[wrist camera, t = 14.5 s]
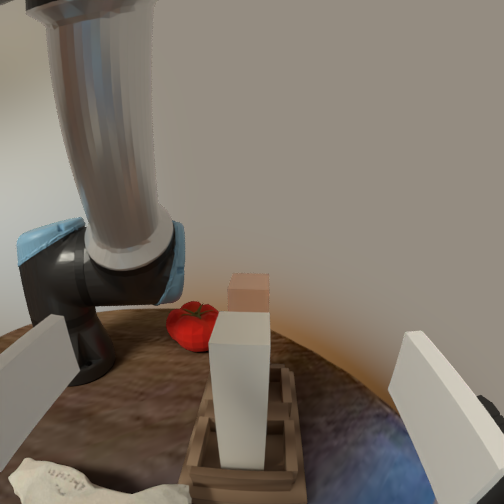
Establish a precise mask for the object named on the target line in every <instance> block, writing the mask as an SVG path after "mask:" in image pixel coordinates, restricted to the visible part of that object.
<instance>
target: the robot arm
mask: <svg viewBox="0 0 504 504" xmlns="http://www.w3.org/2000/svg"><path fill="white" fill-rule="evenodd" d="M10 1H13V0H0V5H3V4H6V3H8V2H10ZM157 1H158V0H26V15H28V16H30V17H32V18H34V19H35V20H37V21H39V22H41V23H42V24H43V25H44V26H45V27H46V35H47V47H48V57H49V65H50V73H51V79H52V86H53V92H54V98H55V103H56V108H57V113H58V118H59V122H60V127H61V132H62V136H63V140H64V144H65V148H66V152H67V155H68V159H69V163H70V166H71V170H72V173H73V176H74V180H75V183H76V186H77V189H78V192H79V195H80V199H81V202H82V205H83V208H84V210H85V213H86V216H87V219H88V222H89V224H88V226H87V227H85V222H84V220H83V218H82V217H79V218H72V219H68V220H64V221H60V222H56V223H52V224H49V225H45V226H42V227H39V228H36V229H33V230H30V231H27V232H25V233H23V234H22V235H21V236H20V237H19V238H18V241H17V256H18V267H19V270H20V276H21V281H22V285H23V290H24V294H25V298H26V302H27V307H28V311H29V315H30V318H31V321H32V325H33V328H32V329H31V330H30V331H28V332H27V333H26V334H25V335H23V336H22V337H21V338H20V339H18V340H17V341H16V342H15V343H13V344H12V345H11V346H10V347H9V348H7V349H6V350H5V351H4V352H2V353H1V354H0V472H1V471H2V470H3V469H4V467H5V466H6V464H7V463H8V462H9V460H10V459H11V458H12V456H13V455H14V453H15V452H16V451H17V449H18V448H19V447H20V445H21V444H22V443H23V441H24V440H25V439H26V437H27V436H28V435H29V433H30V432H31V431H32V430H33V428H34V427H35V426H36V424H37V423H38V422H39V421H40V419H41V418H42V417H43V415H44V414H45V413H46V412H47V410H48V409H49V408H50V407H51V405H52V404H53V403H54V402H55V400H56V399H57V398H58V397H59V396H60V394H61V393H62V392H63V391H64V389H65V388H66V387H67V386H75V385H81V384H85V383H88V382H91V381H93V380H95V379H97V378H99V377H101V376H102V375H104V374H105V373H106V372H107V371H108V370H109V369H110V368H111V367H112V366H113V364H114V362H115V358H116V355H115V350H114V346H113V343H112V340H111V338H110V337H109V335H108V333H107V332H106V330H105V328H104V327H103V325H102V323H101V321H100V320H99V318H98V316H97V314H96V309H95V306H125V305H150V304H152V305H155V306H158V305H160V304H165V303H173V302H176V301H177V300H179V298H180V297H181V295H182V291H183V285H184V264H185V232H184V227H183V225H182V224H181V223H180V222H175V221H173V220H172V219H171V217H170V214H169V213H168V211H167V210H166V209H165V208H164V207H163V206H162V205H161V204H159V203H158V194H157V184H156V173H155V159H154V144H153V125H152V124H153V123H152V86H151V85H152V81H151V77H152V75H151V74H152V70H151V67H152V31H153V30H152V29H153V12H154V7H155V4H156V2H157ZM388 391H389V393H390V395H391V397H392V399H393V401H394V403H395V405H396V407H397V409H398V411H399V414H400V416H401V418H402V420H403V422H404V424H405V426H406V429H407V431H408V433H409V435H410V437H411V440H412V442H413V444H414V446H415V449H416V451H417V453H418V456H419V458H420V460H421V463H422V465H423V467H424V470H425V472H426V474H427V477H428V479H429V482H430V484H431V487H432V489H433V492H434V494H435V497H436V499H437V502H438V504H476V503H477V504H504V418H503V416H502V415H501V416H500V412H499V411H498V410H497V408H496V407H495V406H494V404H493V403H492V402H490V401H489V400H487V399H486V398H485V397H483V396H482V395H479V396H475V394H474V393H473V392H472V390H471V389H470V388H469V387H468V385H467V384H466V383H465V381H464V380H463V379H462V378H461V377H460V375H459V374H458V373H457V372H456V370H455V369H454V368H453V367H452V365H451V364H450V363H449V362H448V361H447V359H446V358H445V357H444V356H443V354H442V353H441V352H440V351H439V350H438V349H437V347H436V346H435V345H434V344H433V343H432V342H431V340H430V339H429V338H428V337H427V336H426V335H425V334H424V332H423V331H413V332H405V335H404V339H403V342H402V346H401V349H400V353H399V357H398V360H397V363H396V366H395V370H394V372H393V376H392V379H391V382H390V385H389V387H388Z"/></svg>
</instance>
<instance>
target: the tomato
mask: <svg viewBox="0 0 504 504" xmlns="http://www.w3.org/2000/svg"><path fill="white" fill-rule="evenodd" d="M218 314H219V312H218V311H217V310H216V309H215V308H214V307H212V306H210V305H209V304H206V305H203V304H202V305H201V304H200V303H199V302H195V301H191V302H188V303H186V304H184V305H183V306H182V307H181V308H180V309H174V310H173V311H171V312H170V314H169V315H168V318H167V320H166V328H167V331H168V333H169V335H170V336H171V337H172V338H173V339H174V340H176V341H177V342H178V343H179V344H180V346H182V347H183V348H185V349H186V350H190V351H194V352H200V351H208V350H209V345H208V343H209V340H210V337H211V334H212V331H213V328H214V325H215V323H216V320H217V317H218Z"/></svg>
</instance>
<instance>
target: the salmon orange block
mask: <svg viewBox="0 0 504 504" xmlns="http://www.w3.org/2000/svg"><path fill="white" fill-rule="evenodd" d="M228 311H229V312H266V313H269V274H249V273H247V274H246V273H233V275H232V278H231V280H230V283H229V286H228Z"/></svg>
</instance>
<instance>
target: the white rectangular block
mask: <svg viewBox="0 0 504 504" xmlns="http://www.w3.org/2000/svg"><path fill="white" fill-rule="evenodd" d="M208 345H209V358H210V370H211V382H212V393H213V403H214V413H215V422H216V431H217V440H218V448H219V456H220V463H221V469H228V470H243V471H264V459H265V443H266V426H267V408H268V389H269V367H270V313H266V312H229V311H220V312H219V314H218V317H217V320H216V323H215V325H214V328H213V331H212V334H211V337H210V340H209V343H208Z"/></svg>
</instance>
